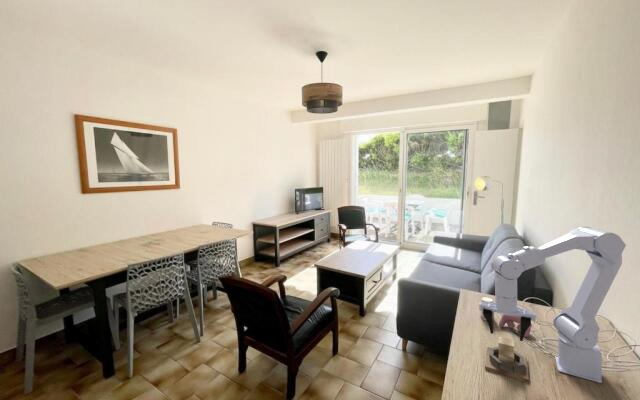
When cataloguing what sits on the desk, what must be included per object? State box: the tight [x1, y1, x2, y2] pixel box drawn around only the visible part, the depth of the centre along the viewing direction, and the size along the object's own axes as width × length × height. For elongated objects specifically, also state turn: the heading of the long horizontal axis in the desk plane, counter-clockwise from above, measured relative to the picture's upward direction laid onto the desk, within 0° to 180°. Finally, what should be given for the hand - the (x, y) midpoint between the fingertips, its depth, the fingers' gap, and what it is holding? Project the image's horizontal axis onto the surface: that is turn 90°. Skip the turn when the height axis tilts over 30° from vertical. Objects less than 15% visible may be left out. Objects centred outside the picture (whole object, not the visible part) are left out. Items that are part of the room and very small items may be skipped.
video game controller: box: [498, 314, 533, 338], centre depth 104 cm, size 10×5×7 cm, turn 36°
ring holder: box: [484, 346, 530, 383], centre depth 86 cm, size 11×11×3 cm
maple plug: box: [498, 335, 515, 364], centre depth 86 cm, size 4×4×7 cm
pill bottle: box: [480, 296, 495, 321], centre depth 113 cm, size 5×5×8 cm
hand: (506, 335), depth 86 cm, fingers open, 7 cm apart
